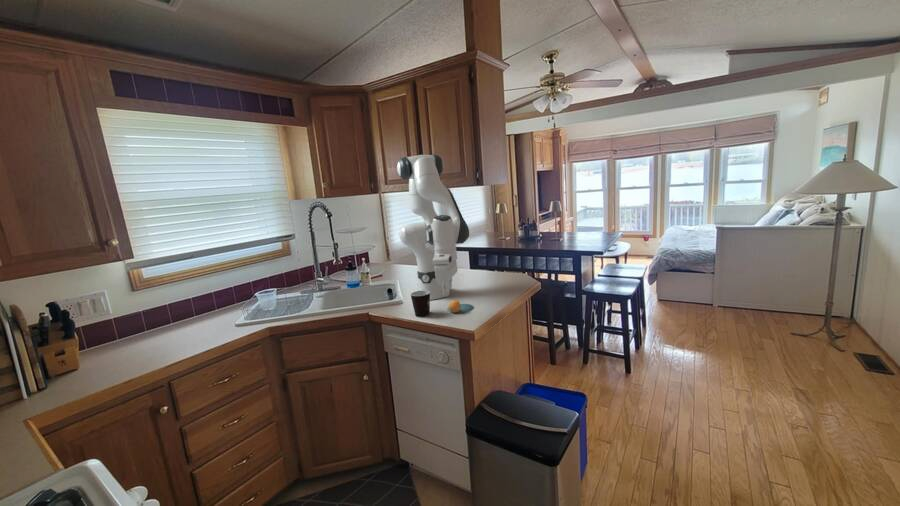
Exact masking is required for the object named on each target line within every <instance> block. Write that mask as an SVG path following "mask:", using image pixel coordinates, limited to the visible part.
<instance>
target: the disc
mask: <svg viewBox="0 0 900 506" xmlns="http://www.w3.org/2000/svg"><path fill="white" fill-rule="evenodd" d="M460 304H461V309H460V311H459V312H457V313H456V314H459V313H460V314H462V312H463V313H467V311H468V312H470V311H473V309H474V305H473V304H469V303H460ZM446 309H447V312H449V313H452V312H451V311H450V310H449V306H448V307H447V308H446Z"/></svg>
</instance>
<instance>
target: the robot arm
mask: <svg viewBox="0 0 900 506" xmlns="http://www.w3.org/2000/svg"><path fill="white" fill-rule="evenodd" d="M396 171H397V173H398V175H399V177H400V179H402V180H405V181H406V180H407V181H408V192H409V193H408V195H409V202H410V210H411V212H412V213H413V214H415V215H417V216H419V217H421V218H423V221H421V222H413V223H409V224H406V225H402V227H401V228H400V230H399V239H400V242H401V243H402V244H403V245H405V246H406V247H408V248H410V250H411V251H412V253H413V254H414V255H415V256H414V257H415V259H416V265H417V280H416V281H415V292H416V291H422V290H425V291H429V292H430V301H434V300H437V299H442V298H447V297H449V296H450V292H451V289H452V288H453V285H452V284H453V276H455V275H456V274H457V272H458V264H457V260H458V251H457V245H460V244H465V242H466V241H467V240H468V238H469V237H470V230H469V226H468V224H467V222H466V220H465V219H464V217H463V215H462V213H461V212H462V211H461V210H460V207H459V206H458V204H457V201H456V198H455V196H454V194H453V193H452V191H451V189H449V188H448V187H446V186H445V185H444V184H443V182H442V181H441V178H440V176H441V175H442V174H443V171H444V162H443V159H442V157H441V156H440V155H439V154H419V155H413V156H412V155H411V156H403V157H400V158H399V160H397V166H396ZM433 202H435V203H437V204H441V205H443V206H444V207H445V208H446V209H447V212H448V214H449V215H447V214H446V215H445V214H441V215H440V214H439V215H438V214H437V212H436V211H435V207H434V203H433ZM427 244H429V245H431V246H434V250H432V249H429V248H427V246H426V245H427Z"/></svg>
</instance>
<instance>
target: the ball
mask: <svg viewBox="0 0 900 506" xmlns="http://www.w3.org/2000/svg"><path fill="white" fill-rule="evenodd" d="M461 304H462V303H461V302H460V301H459V300H456V299H455V300H451V301H450V302H449V303H448V307H449V310H450V311H451V312H450V313H456V314H458V313H457V312H459V311H460V309H461Z"/></svg>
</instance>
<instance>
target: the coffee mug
mask: <svg viewBox="0 0 900 506" xmlns="http://www.w3.org/2000/svg"><path fill="white" fill-rule="evenodd" d="M410 298H411V302H412V308H413V312H414V315H415V317H417V318H425V317H429V315H430V311H431V310H430V308H431V306H430V304H431V303H430V302H431V300H430V292H429V291H425V290H422V291H416V290H415V291H413V292H411V293H410Z"/></svg>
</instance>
